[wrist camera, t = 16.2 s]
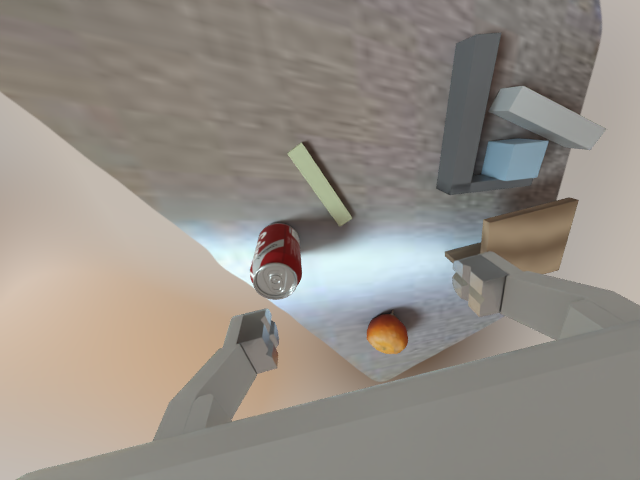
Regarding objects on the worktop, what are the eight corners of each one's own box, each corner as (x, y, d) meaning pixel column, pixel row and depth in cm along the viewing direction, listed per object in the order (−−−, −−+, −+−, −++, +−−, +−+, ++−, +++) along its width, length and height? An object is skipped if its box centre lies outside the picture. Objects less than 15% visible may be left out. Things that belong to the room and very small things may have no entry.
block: (487, 141, 38) (514, 144, 33) (518, 138, 38) (548, 140, 33) (481, 174, 40) (504, 181, 35) (509, 170, 40) (537, 177, 36)
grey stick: (486, 111, 36) (508, 110, 32) (499, 88, 34) (523, 85, 31) (563, 147, 39) (590, 150, 36) (577, 127, 38) (606, 128, 35)
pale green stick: (350, 215, 41) (352, 218, 40) (338, 223, 41) (339, 226, 40) (301, 141, 35) (301, 142, 34) (287, 152, 35) (287, 153, 34)
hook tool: (455, 44, 31) (476, 34, 28) (549, 36, 32) (581, 26, 29) (435, 188, 40) (450, 194, 37) (509, 179, 41) (530, 185, 37)
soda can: (297, 219, 40) (300, 256, 29) (300, 255, 43) (304, 300, 32) (255, 223, 39) (242, 262, 29) (262, 258, 42) (252, 306, 32)
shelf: (445, 199, 41) (489, 222, 32) (514, 182, 41) (578, 200, 32) (444, 256, 46) (482, 289, 37) (506, 240, 46) (558, 270, 37)
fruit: (414, 327, 52) (411, 363, 47) (379, 325, 57) (372, 358, 51) (403, 302, 49) (397, 338, 43) (367, 303, 53) (357, 335, 47)
